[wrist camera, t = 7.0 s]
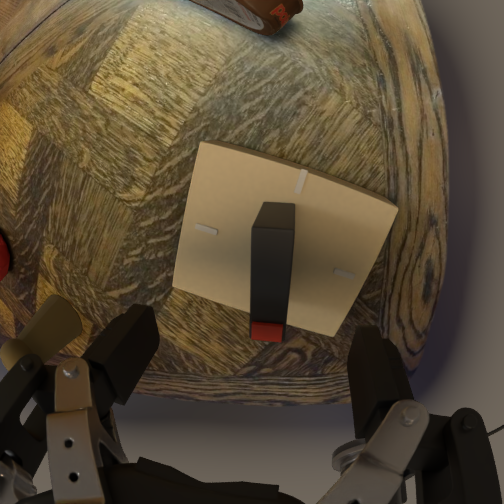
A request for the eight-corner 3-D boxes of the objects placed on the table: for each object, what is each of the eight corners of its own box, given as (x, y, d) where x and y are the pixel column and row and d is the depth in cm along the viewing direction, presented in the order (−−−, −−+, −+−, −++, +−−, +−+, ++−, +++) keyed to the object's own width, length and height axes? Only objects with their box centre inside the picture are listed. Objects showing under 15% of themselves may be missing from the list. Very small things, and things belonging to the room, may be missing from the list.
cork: (80, 343, 29) (33, 400, 19) (47, 315, 28) (-2, 365, 18) (84, 315, 26) (27, 379, 16) (48, 285, 26) (-12, 338, 16)
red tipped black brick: (263, 200, 15) (249, 228, 11) (295, 203, 15) (295, 231, 11) (260, 292, 18) (248, 342, 14) (287, 295, 18) (283, 345, 13)
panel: (385, 195, 17) (400, 207, 14) (329, 314, 21) (333, 339, 18) (215, 138, 17) (199, 139, 14) (186, 268, 22) (170, 288, 19)
